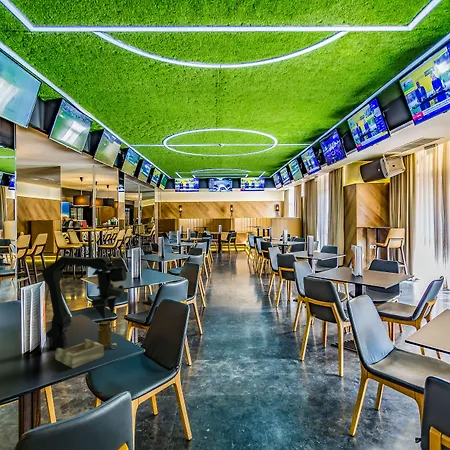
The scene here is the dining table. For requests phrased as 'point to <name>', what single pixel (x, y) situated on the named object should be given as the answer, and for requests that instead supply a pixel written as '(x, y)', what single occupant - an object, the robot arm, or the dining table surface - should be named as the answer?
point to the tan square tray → (80, 353)
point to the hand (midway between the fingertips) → (108, 315)
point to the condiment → (105, 335)
